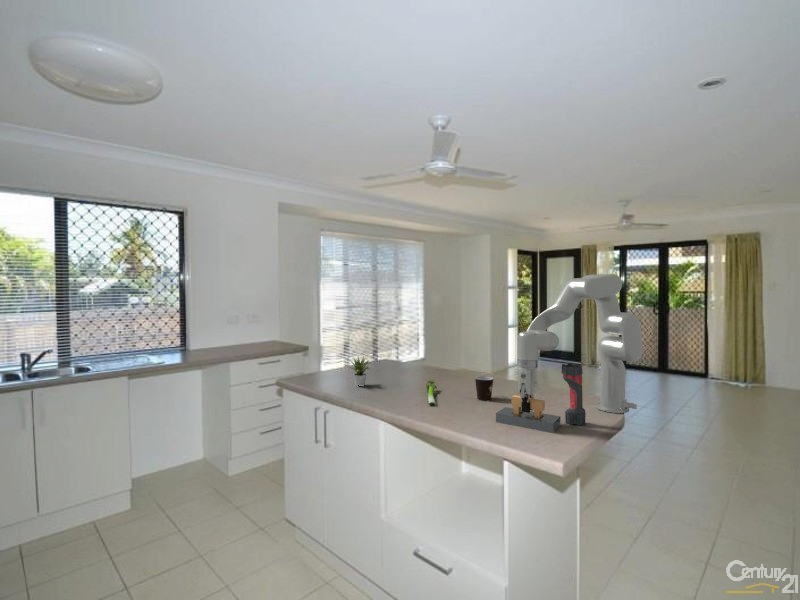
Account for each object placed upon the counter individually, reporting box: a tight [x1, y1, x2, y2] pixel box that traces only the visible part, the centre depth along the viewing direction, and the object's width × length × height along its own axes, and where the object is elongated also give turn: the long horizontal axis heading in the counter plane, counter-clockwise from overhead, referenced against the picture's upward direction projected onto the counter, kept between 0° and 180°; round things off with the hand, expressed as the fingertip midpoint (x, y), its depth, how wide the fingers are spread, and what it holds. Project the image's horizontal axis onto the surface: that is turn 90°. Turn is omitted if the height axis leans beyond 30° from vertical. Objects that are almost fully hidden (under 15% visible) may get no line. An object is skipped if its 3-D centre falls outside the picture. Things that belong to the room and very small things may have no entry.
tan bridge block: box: [510, 394, 546, 419], centre depth 162 cm, size 12×3×8 cm, turn 55°
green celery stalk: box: [425, 379, 438, 407], centre depth 202 cm, size 6×7×30 cm
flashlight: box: [561, 363, 587, 426], centre depth 162 cm, size 8×8×23 cm
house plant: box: [349, 355, 372, 386], centre depth 225 cm, size 14×14×16 cm
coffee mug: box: [474, 375, 494, 402], centre depth 199 cm, size 12×9×10 cm
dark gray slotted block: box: [495, 406, 561, 434], centre depth 162 cm, size 22×10×4 cm, turn 55°
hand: (527, 410), depth 162 cm, fingers closed on tan bridge block, 3 cm apart
